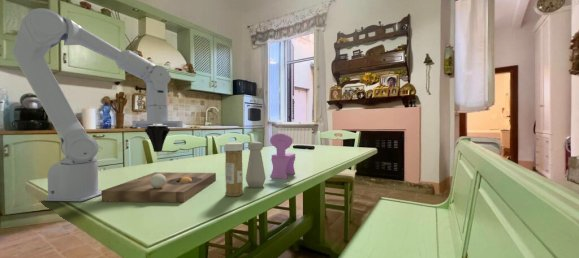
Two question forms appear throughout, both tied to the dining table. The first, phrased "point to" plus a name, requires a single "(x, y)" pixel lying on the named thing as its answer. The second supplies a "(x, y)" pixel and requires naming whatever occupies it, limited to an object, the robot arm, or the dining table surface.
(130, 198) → the board
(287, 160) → the toy chair
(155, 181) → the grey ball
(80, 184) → the robot arm
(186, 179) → the orange ball
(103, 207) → the dining table surface
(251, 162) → the salt shaker
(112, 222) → the dining table surface
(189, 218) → the dining table surface
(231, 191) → the spice jar
